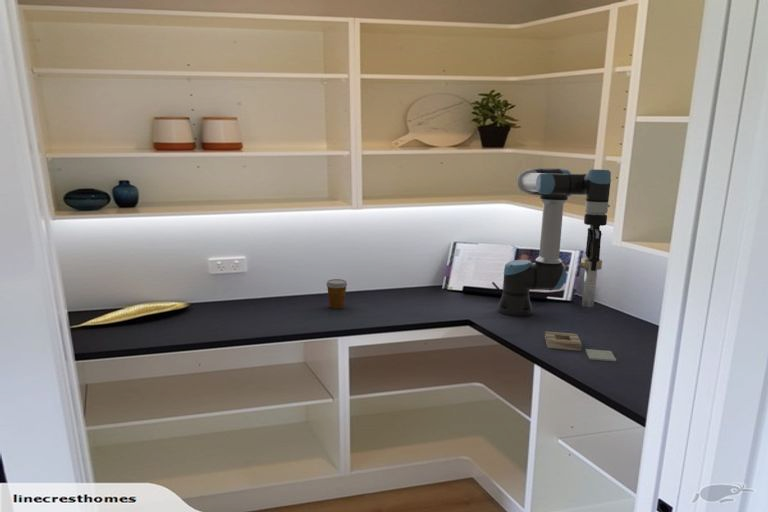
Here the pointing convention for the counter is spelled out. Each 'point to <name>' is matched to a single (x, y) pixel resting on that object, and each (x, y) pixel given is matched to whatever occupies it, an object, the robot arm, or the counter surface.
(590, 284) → the steel peg
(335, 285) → the orange pill bottle
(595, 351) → the rubber mat
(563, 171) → the robot arm
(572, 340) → the plate
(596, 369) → the counter surface
